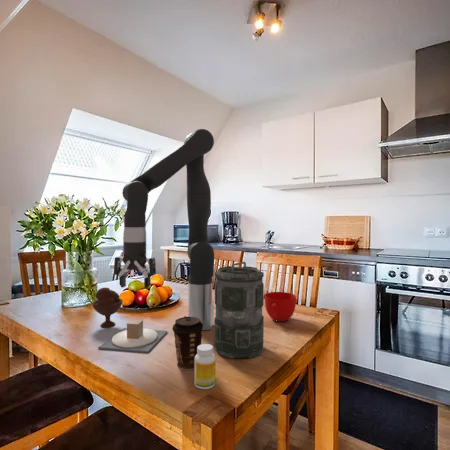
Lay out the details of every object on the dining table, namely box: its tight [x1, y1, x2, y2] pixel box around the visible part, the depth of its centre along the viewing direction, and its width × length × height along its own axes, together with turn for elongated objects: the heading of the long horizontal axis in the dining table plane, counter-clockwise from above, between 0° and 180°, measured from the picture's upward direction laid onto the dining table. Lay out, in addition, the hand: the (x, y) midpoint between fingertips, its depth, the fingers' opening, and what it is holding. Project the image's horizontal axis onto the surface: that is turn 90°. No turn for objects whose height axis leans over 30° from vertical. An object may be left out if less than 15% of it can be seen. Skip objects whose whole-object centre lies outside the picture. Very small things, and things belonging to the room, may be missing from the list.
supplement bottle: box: [193, 343, 216, 390], centre depth 77 cm, size 5×5×10 cm
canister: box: [213, 261, 265, 359], centre depth 97 cm, size 16×16×28 cm
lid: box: [111, 319, 157, 348], centre depth 104 cm, size 15×15×6 cm
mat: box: [97, 327, 168, 354], centre depth 104 cm, size 17×17×1 cm
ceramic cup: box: [264, 291, 297, 322], centre depth 124 cm, size 13×17×10 cm
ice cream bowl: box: [91, 287, 124, 329], centre depth 118 cm, size 11×11×15 cm
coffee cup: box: [171, 315, 203, 371], centre depth 87 cm, size 9×8×13 cm
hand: (134, 287), depth 104 cm, fingers open, 8 cm apart
